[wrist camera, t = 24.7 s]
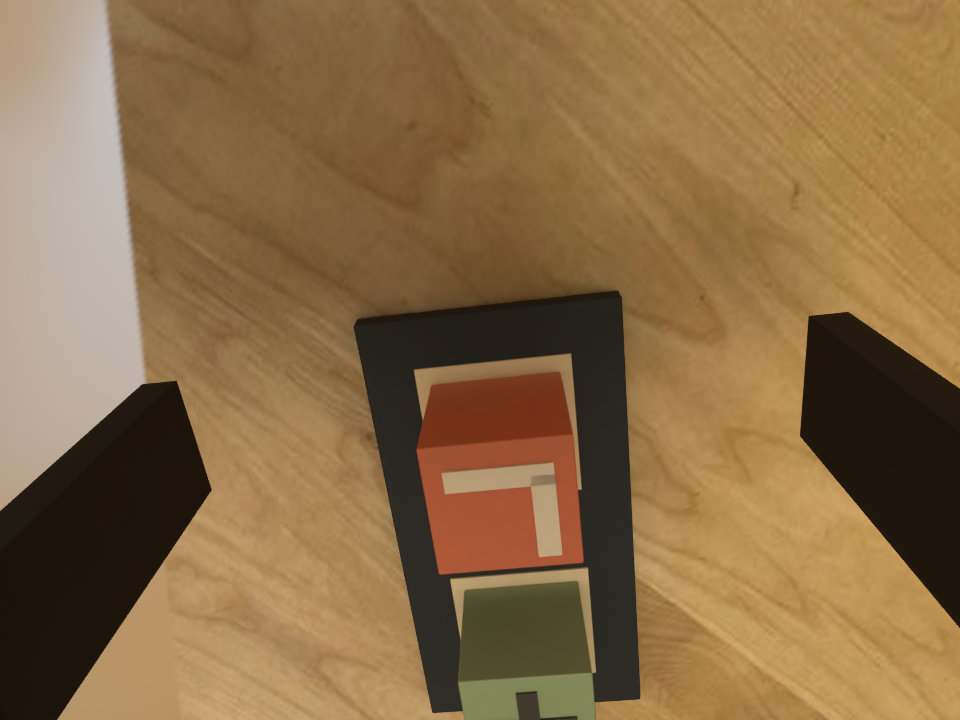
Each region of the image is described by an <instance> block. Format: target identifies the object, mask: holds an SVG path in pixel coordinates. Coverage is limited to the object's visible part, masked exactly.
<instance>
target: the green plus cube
mask: <svg viewBox="0 0 960 720" xmlns="http://www.w3.org/2000/svg"><path fill="white" fill-rule="evenodd" d="M458 686H459V692H460V697H461V703H462V708H463V714H464V719H465V720H596V712H595V700H594V687H593V675H592V668H591V661H590V655H589V648H588V642H587V635H586V629H585V623H584V616H583V610H582V603H581V597H580V590H579V584H578V582H577V581H576V582H564V583H551V584H539V585H526V586H513V587H501V588H488V589H476V590H465V591H464V602H463V617H462V631H461V645H460V659H459V673H458Z"/></svg>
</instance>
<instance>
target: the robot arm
mask: <svg viewBox="0 0 960 720" xmlns="http://www.w3.org/2000/svg"><path fill="white" fill-rule="evenodd" d="M800 437H801V438H802V439H803V440H804V441H805V443H806V444H807V445H808V446H809V447H810V449H811V450H812V451H813V452H814V453H815V455H816V456H817V457H818V458H819V459H820V461H821V462H822V463H823V464H824V465H825V467H826V468H827V469H828V470H829V471H830V473H831V474H832V475H833V476H834V477H835V479H836V480H837V481H838V482H839V483H840V485H841V486H842V487H843V488H844V489H845V491H846V492H847V493H848V494H849V495H850V497H851V498H852V499H853V500H854V501H855V503H856V504H857V505H858V506H859V507H860V509H861V510H862V511H863V512H864V513H865V515H866V516H867V517H868V518H869V519H870V521H871V522H872V523H873V524H874V525H875V527H876V528H877V529H878V530H879V531H880V533H881V534H882V535H883V536H884V537H885V539H886V540H887V541H888V542H889V544H890V545H891V546H892V547H893V548H894V550H895V551H896V552H897V553H898V554H899V556H900V557H901V558H902V559H903V560H904V562H905V563H906V564H907V565H908V566H909V568H910V569H911V570H912V571H913V572H914V574H915V575H916V576H917V577H918V578H919V580H920V581H921V582H922V583H923V584H924V586H925V587H926V588H927V589H928V590H929V592H930V593H931V594H932V595H933V596H934V598H935V599H936V600H937V601H938V602H939V604H940V605H941V606H942V607H943V608H944V610H945V611H946V612H947V613H948V614H949V616H950V617H951V618H952V619H953V620H954V622H955V623H956V624H957V625H958V626H959V628H960V389H959V388H958V387H957V386H955V385H954V384H952V383H951V382H949V381H948V380H946V379H945V378H943V377H942V376H941V375H939V374H938V373H936V372H935V371H933V370H932V369H930V368H929V367H927V366H926V365H925V364H923V363H922V362H920V361H919V360H917V359H916V358H914V357H913V356H911V355H910V354H909V353H907V352H906V351H904V350H903V349H901V348H900V347H898V346H897V345H895V344H894V343H893V342H891V341H890V340H888V339H887V338H885V337H884V336H882V335H881V334H879V333H878V332H877V331H875V330H874V329H872V328H871V327H869V326H868V325H866V324H865V323H863V322H862V321H860V320H859V319H858V318H856V317H855V316H853V315H852V314H850V313H849V312H843V313H834V314H824V315H814V316H809V320H808V334H807V348H806V361H805V375H804V389H803V402H802V416H801V429H800ZM211 490H212V489H211V486H210V483H209V480H208V477H207V474H206V470H205V467H204V464H203V461H202V458H201V455H200V452H199V449H198V446H197V442H196V439H195V436H194V433H193V430H192V427H191V424H190V421H189V418H188V415H187V411H186V408H185V405H184V402H183V399H182V396H181V393H180V390H179V387H178V383H177V381H170V382H160V383H151V384H142V385H141V386H140V387H139V388H138V389H136V390H135V391H134V392H133V393H132V394H131V395H130V396H128V397H127V399H125V400H124V401H123V402H122V403H121V404H120V405H118V406H117V407H116V408H115V409H114V410H113V411H112V412H111V413H109V414H108V415H107V416H106V417H105V418H104V419H103V420H102V421H101V422H99V424H97V425H96V426H95V427H94V428H93V429H92V430H90V431H89V432H88V433H87V434H86V435H85V436H84V437H83V438H81V439H80V440H79V441H78V442H77V443H76V444H75V445H74V446H73V447H72V448H71V449H69V450H68V451H67V452H66V453H65V454H64V455H63V456H61V457H60V458H59V459H58V460H57V461H56V462H55V463H54V464H52V465H51V466H50V467H49V468H48V469H47V470H46V471H45V472H43V473H42V474H41V475H40V476H39V477H38V478H37V479H36V480H34V481H33V482H32V483H31V484H30V485H29V486H28V487H27V488H26V489H25V490H23V491H22V492H21V493H20V494H19V495H18V496H17V497H15V499H13V500H12V501H11V502H10V503H9V504H8V505H7V506H6V507H4V508H3V509H2V510H1V511H0V720H57V719H58V717H59V716H60V715H61V713H62V712H63V710H64V709H65V707H66V705H67V704H68V703H69V701H70V699H71V698H72V697H73V695H74V694H75V692H76V691H77V689H78V688H79V686H80V685H81V683H82V682H83V680H84V679H85V677H86V676H87V675H88V673H89V672H90V670H91V669H92V667H93V666H94V664H95V663H96V661H97V660H98V658H99V657H100V655H101V654H102V652H103V651H104V649H105V648H106V646H107V645H108V643H109V642H110V640H111V639H112V637H113V636H114V634H115V633H116V631H117V630H118V628H119V627H120V625H121V624H122V623H123V621H124V619H125V618H126V617H127V615H128V614H129V612H130V611H131V609H132V608H133V606H134V605H135V603H136V602H137V600H138V599H139V597H140V596H141V594H142V593H143V591H144V590H145V588H146V587H147V585H148V584H149V582H150V581H151V579H152V578H153V576H154V575H155V573H156V572H157V570H158V569H159V568H160V566H161V565H162V563H163V562H164V560H165V559H166V557H167V556H168V554H169V553H170V551H171V550H172V548H173V547H174V545H175V544H176V542H177V541H178V539H179V538H180V536H181V535H182V533H183V532H184V530H185V529H186V527H187V526H188V524H189V523H190V521H191V520H192V518H193V517H194V515H195V514H196V513H197V511H198V510H199V508H200V507H201V505H202V504H203V502H204V501H205V499H206V498H207V496H208V495H209V493H210V492H211Z"/></svg>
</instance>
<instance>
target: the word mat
mask: <svg viewBox="0 0 960 720" xmlns="http://www.w3.org/2000/svg"><path fill="white" fill-rule="evenodd" d="M354 330H355V335H356V340H357V345H358V350H359V355H360V360H361V365H362V369H363V374H364V379H365V384H366V389H367V394H368V399H369V404H370V409H371V414H372V419H373V423H374V428H375V433H376V438H377V443H378V448H379V453H380V458H381V463H382V468H383V473H384V477H385V482H386V487H387V492H388V497H389V502H390V507H391V512H392V517H393V522H394V527H395V531H396V536H397V541H398V546H399V551H400V556H401V561H402V566H403V571H404V576H405V581H406V585H407V590H408V595H409V600H410V605H411V610H412V615H413V620H414V625H415V630H416V635H417V639H418V644H419V649H420V654H421V659H422V664H423V669H424V674H425V679H426V684H427V689H428V693H429V698H430V703H431V708H432V712H433V713H440V712H455V711H463V708H462V703H461V697H460V692H459V686H458V673H459V659H460V645H461V631H462V617H463V602H464V591H465V590H476V589H488V588H501V587H513V586H526V585H539V584H551V583H564V582H576V581H577V582H578V584H579V590H580V597H581V603H582V610H583V616H584V623H585V629H586V635H587V642H588V648H589V655H590V661H591V668H592V675H593V687H594V700H595V702H606V701H621V700H636V699H640V678H639V657H638V635H637V614H636V592H635V571H634V549H633V528H632V507H631V485H630V464H629V442H628V421H627V399H626V378H625V357H624V335H623V314H622V297H621V295H620V294H619V292H618V291H613V292H604V293H595V294H586V295H576V296H567V297H558V298H549V299H540V300H531V301H521V302H512V303H503V304H494V305H485V306H476V307H466V308H457V309H448V310H439V311H430V312H421V313H411V314H402V315H393V316H384V317H375V318H366V319H358V320H357V322H356V323H355V325H354ZM555 372H560V373H561V377H562V382H563V387H564V392H565V396H566V401H567V406H568V411H569V416H570V421H571V426H572V430H573V435H574V448H575V460H576V472H577V484H578V497H579V509H580V521H581V533H582V546H583V558H584V561H583V563H575V564H563V565H550V566H538V567H526V568H514V569H501V570H489V571H477V572H465V573H452V574H439V572H438V567H437V561H436V556H435V550H434V545H433V539H432V534H431V528H430V523H429V517H428V512H427V506H426V500H425V495H424V489H423V484H422V478H421V473H420V467H419V462H418V456H417V451H416V450H417V445H418V441H419V436H420V432H421V428H422V423H423V419H424V414H425V410H426V406H427V401H428V397H429V393H430V388H431V385H437V384H447V383H457V382H467V381H476V380H486V379H496V378H506V377H516V376H525V375H535V374H545V373H555Z"/></svg>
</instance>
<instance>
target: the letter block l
mask: <svg viewBox="0 0 960 720" xmlns="http://www.w3.org/2000/svg"><path fill="white" fill-rule="evenodd" d="M416 451H417V456H418V462H419V467H420V473H421V478H422V484H423V489H424V495H425V500H426V506H427V512H428V517H429V523H430V528H431V534H432V539H433V545H434V550H435V556H436V561H437V567H438V572H439V574H452V573H465V572H477V571H489V570H501V569H514V568H526V567H538V566H550V565H563V564H575V563H583V561H584V558H583V546H582V533H581V521H580V509H579V497H578V484H577V472H576V460H575V448H574V435H573V430H572V426H571V421H570V416H569V411H568V406H567V401H566V396H565V392H564V387H563V382H562V377H561V373H560V372H555V373H545V374H535V375H525V376H516V377H506V378H496V379H486V380H476V381H467V382H457V383H447V384H437V385H431V388H430V393H429V397H428V401H427V406H426V410H425V414H424V419H423V423H422V428H421V432H420V436H419V441H418V445H417V450H416Z"/></svg>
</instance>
